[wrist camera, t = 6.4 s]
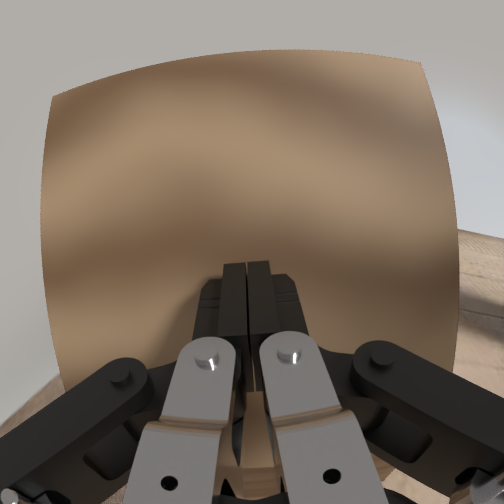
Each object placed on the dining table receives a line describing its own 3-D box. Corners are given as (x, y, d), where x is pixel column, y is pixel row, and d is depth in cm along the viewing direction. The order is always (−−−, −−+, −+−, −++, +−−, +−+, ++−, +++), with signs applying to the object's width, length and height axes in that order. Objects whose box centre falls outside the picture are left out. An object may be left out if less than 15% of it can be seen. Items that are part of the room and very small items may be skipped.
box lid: (432, 421, 11) (440, 430, 10) (94, 441, 12) (86, 450, 11) (412, 72, 11) (420, 62, 10) (62, 103, 12) (52, 96, 11)
